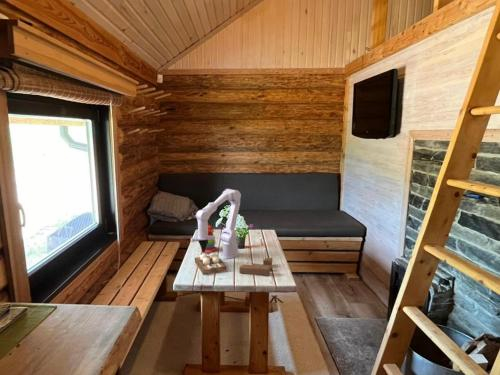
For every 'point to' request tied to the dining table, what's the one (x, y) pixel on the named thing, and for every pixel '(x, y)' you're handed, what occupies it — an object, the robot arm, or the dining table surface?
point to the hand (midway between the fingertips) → (203, 251)
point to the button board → (210, 266)
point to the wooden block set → (257, 268)
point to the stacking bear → (210, 242)
